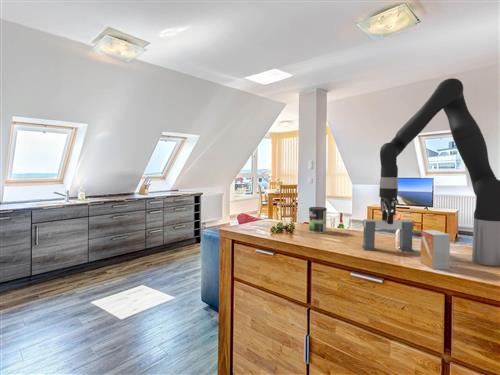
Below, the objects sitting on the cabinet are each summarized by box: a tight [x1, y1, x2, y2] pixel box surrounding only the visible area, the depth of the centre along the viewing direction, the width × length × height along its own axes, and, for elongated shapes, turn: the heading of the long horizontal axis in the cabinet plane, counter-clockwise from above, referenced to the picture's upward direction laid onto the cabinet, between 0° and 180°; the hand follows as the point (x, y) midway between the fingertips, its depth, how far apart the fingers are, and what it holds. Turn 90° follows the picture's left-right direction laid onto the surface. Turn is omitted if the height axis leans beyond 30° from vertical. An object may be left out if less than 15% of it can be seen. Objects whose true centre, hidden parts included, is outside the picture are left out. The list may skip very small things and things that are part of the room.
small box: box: [419, 229, 451, 270], centre depth 112 cm, size 8×6×13 cm
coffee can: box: [308, 206, 328, 234], centre depth 175 cm, size 10×10×14 cm
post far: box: [361, 219, 377, 251], centre depth 137 cm, size 5×6×13 cm
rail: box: [363, 218, 414, 230], centre depth 135 cm, size 20×4×4 cm, turn 81°
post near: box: [398, 222, 415, 253], centre depth 134 cm, size 5×6×13 cm
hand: (387, 222), depth 135 cm, fingers open, 8 cm apart
